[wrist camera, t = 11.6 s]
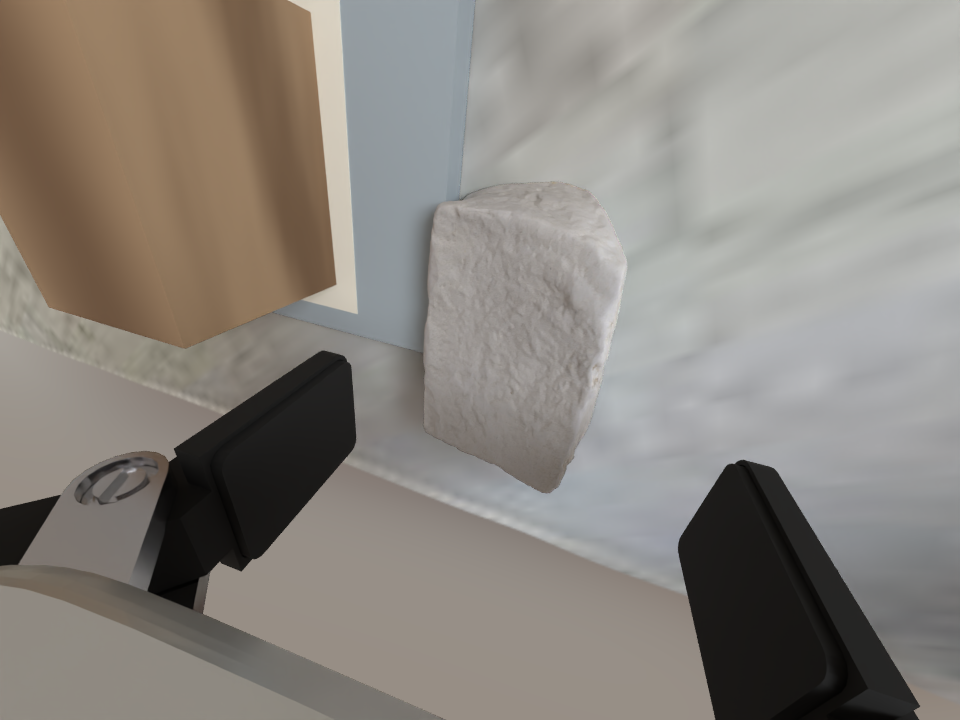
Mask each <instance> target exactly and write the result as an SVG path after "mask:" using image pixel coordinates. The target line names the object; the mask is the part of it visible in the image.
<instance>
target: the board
mask: <svg viewBox="0 0 960 720" xmlns="http://www.w3.org/2000/svg"><path fill="white" fill-rule="evenodd" d="M288 1H290V2H292V3H294V4H296V5H298V6H300V7H302V8H304V9H305V10H307V11H309V12H311V21H312V31H313V42H314V53H315V63H316V74H317V84H318V95H319V105H320V116H321V126H322V137H323V147H324V158H325V168H326V179H327V190H328V200H329V211H330V221H331V232H332V242H333V253H334V263H335V274H336V284H337V285H334V286H332V287H330V288H327V289H325V290H323V291H320V292H318V293H316V294H313V295H311V296H308V297H306V298H304V299H301V300H299V301H297V302H294V303H292V304H290V305H287V306H285V307H282V308H280V309H278V310H275V311H273V312H272V313H276V314H280V315H284V316H287V317H291V318H295V319H298V320H302V321H306V322H310V323H313V324H317V325H321V326H325V327H328V328H332V329H336V330H339V331H343V332H347V333H351V334H354V335H358V336H362V337H365V338H369V339H373V340H377V341H380V342H384V343H388V344H392V345H395V346H399V347H403V348H406V349H410V350H414V351H418V352H421V353H423V351H424V330H425V324H426V320H427V316H428V305H429V298H428V290H427V287H428V286H427V280H428V265H429V255H430V241H431V232H432V227H433V218H434V213H435V211H436V208H437V206H438V205H439V204H440V203H442V202H447V201H459V194H460V181H461V169H462V156H463V144H464V132H465V119H466V107H467V95H468V82H469V70H470V58H471V45H472V33H473V20H474V8H475V0H288Z"/></svg>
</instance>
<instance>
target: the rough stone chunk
mask: <svg viewBox="0 0 960 720" xmlns="http://www.w3.org/2000/svg"><path fill="white" fill-rule="evenodd" d="M626 273H627V260H626V257H625V255H624V253H623V248H622V246H621V243H620V241H619V239H618V237H617V235H616V233H615V229H614V226H613V225H612V223H611V221H610V219H609V217H608V215H607V213H606V211H605V209H604V208H603V207H602V206H601V205H600V203H599V201H598V200H597V199H596V198H595V196H594V195H593V194H592V193H591V192H590V191H588V190H585V189H581V188H579V187H576V186H573V185H571V184H567V183H563V182H540V183H539V182H537V183H536V182H535V183H519V184H518V183H511V184H504V185H497V186H493V187H489V188H484V189H481V190H479V191H476V192H473V193H470V194H469V195H467V196H466V197H465V198H464V199H463V200H459V201H447V202H442V203H440V204H439V205H438V206H437V208H436V211H435V213H434V218H433V227H432V232H431V241H430V255H429V265H428V280H427V286H428V287H427V290H428V298H429V305H428V316H427V320H426V324H425V330H424V351H423V364H424V368H425V375H424V384H425V391H424V422H423V427H424V430H425V432H426V433H428V434H430V435H432V436H433V437H435V438H438V439H440V440H442V441H443V442H445V443H447V444H449V445H452V446H454V447H456V448H457V449H459V450H461V451H462V452H465V453H467V454H471V455H474V456H476V457H478V458H480V459H483V460H484V461H486V462H489V463H492V464H495V465H497V466H499V467H500V468H502V469H503V470H504V471H505V472H507V473H508V474H510V475H512V476H514V477H515V478H516V479H518V480H520V481H522V482H523V483H525V484H526V485H529V486H531V487H532V488H534V489H536V490H538V491H540V492H542V493H550V492H552V491H553V490H554V489H556V488H557V487H558V486H559V485H560V483H561V480H562V478H563V476H564V474H565V471H566V466H567V465H568V464H569V463H570V462H571V461H572V460H573V458H574V452H575V449H576V447H577V445H578V444H579V442H580V440H581V439H582V438H583V436H584V435H585V432H586V431H587V428H588V426H589V424H590V421H591V419H592V415H593V411H594V408H595V404H596V400H597V397H598V394H599V390H600V387H601V384H602V379H603V371H604V366H605V363H606V362H607V359H608V357H609V352H610V348H611V341H612V336H613V333H614V331H615V328H616V322H617V318H618V315H619V310H620V305H621V297H622V294H623V288H624V282H625V278H626Z"/></svg>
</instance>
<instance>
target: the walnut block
mask: <svg viewBox="0 0 960 720" xmlns="http://www.w3.org/2000/svg"><path fill="white" fill-rule="evenodd" d="M0 215H1V217H2V219H3V221H4V223H5V225H6V227H7V229H8V230H9V232H10V234H11V236H12V238H13V240H14V242H15V244H16V246H17V248H18V250H19V251H20V253H21V255H22V257H23V259H24V261H25V263H26V265H27V267H28V269H29V270H30V272H31V274H32V276H33V278H34V280H35V282H36V284H37V286H38V288H39V289H40V291H41V293H42V295H43V297H44V299H45V301H46V303H47V305H48V307H50V308H53V309H56V310H60V311H63V312H66V313H69V314H73V315H76V316H79V317H83V318H86V319H89V320H92V321H96V322H99V323H102V324H106V325H109V326H112V327H116V328H119V329H122V330H125V331H129V332H132V333H135V334H139V335H142V336H145V337H148V338H152V339H155V340H158V341H162V342H165V343H168V344H172V345H175V346H178V347H181V348H188V347H190V346H192V345H195V344H197V343H200V342H202V341H204V340H207V339H209V338H211V337H214V336H216V335H219V334H221V333H223V332H226V331H228V330H230V329H233V328H235V327H237V326H240V325H242V324H245V323H247V322H249V321H252V320H254V319H256V318H259V317H261V316H263V315H266V314H268V313H271V312H273V311H275V310H278V309H280V308H282V307H285V306H287V305H290V304H292V303H294V302H297V301H299V300H301V299H304V298H306V297H308V296H311V295H313V294H316V293H318V292H320V291H323V290H325V289H327V288H330V287H332V286H334V285H337V284H336V274H335V263H334V253H333V242H332V232H331V221H330V211H329V200H328V190H327V179H326V168H325V158H324V147H323V137H322V126H321V116H320V105H319V95H318V84H317V74H316V63H315V53H314V42H313V31H312V21H311V12H309V11H307V10H305V9H304V8H302V7H300V6H298V5H296V4H294V3H292V2H290V1H288V0H0Z"/></svg>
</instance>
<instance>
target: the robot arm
mask: <svg viewBox="0 0 960 720" xmlns="http://www.w3.org/2000/svg"><path fill="white" fill-rule="evenodd" d="M355 443H356V427H355V413H354V399H353V385H352V370H351V365H350V363H348V362H347V360H346V358H345V357H344V356H343V355H339V354H335V353H331V352H327V351H321V352H318V353H317V354H315V355H314V356H312V357H311V358H309V359H308V360H306V361H305V362H303V363H302V364H300V365H299V366H297V367H296V368H294V369H293V370H291V371H290V372H288V373H287V374H285V375H284V376H282V377H281V378H279V379H278V380H276V381H275V382H273V383H272V384H270V385H269V386H267V387H266V388H264V389H263V390H261V391H260V392H258V393H257V394H255V395H254V396H252V397H251V398H249V399H248V400H246V401H245V402H243V403H242V404H240V405H239V406H237V407H236V408H234V409H233V410H231V411H230V412H228V413H227V414H225V415H224V416H222V417H221V418H219V419H218V420H216V421H215V422H214V423H212V424H210V425H209V426H207V427H206V428H204V429H203V430H201V431H200V432H198V433H197V434H195V435H194V436H192V437H191V438H189V439H188V440H186V441H185V442H183V443H182V444H180V445H179V446H177V447H176V448H174V450H175V453H176V455H177V457H176V458H174V459H173V460H171V461H170V462H168V460H167V459H166V457H165V456H163V455H161V454H159V453H156V452H149V451H141V452H131V453H127V454H123V455H119V456H115V457H113V458H110V459H107V460H105V461H102V462H100V463H98V464H96V465H94V466H93V467H91V468H89V469H87V470H85V471H84V472H83V473H81V474H80V475H79V476H77V477H76V478H75V479H73V480H72V482H71V483H70V484H69V485H68V486H67V487H66V489H65V490H64V491H63V493H62V495H58V496H54V497H49V498H45V499H41V500H37V501H32V502H28V503H24V504H20V505H15V506H11V507H7V508H3V509H0V720H445V719H443V718H441V717H438V716H436V715H434V714H431V713H429V712H427V711H425V710H422V709H420V708H418V707H416V706H413V705H411V704H409V703H406V702H404V701H402V700H400V699H397V698H395V697H393V696H390V695H388V694H386V693H384V692H381V691H379V690H376V689H374V688H372V687H370V686H368V685H365V684H363V683H361V682H358V681H356V680H354V679H352V678H349V677H347V676H345V675H343V674H340V673H338V672H336V671H333V670H331V669H329V668H327V667H324V666H322V665H319V664H317V663H315V662H313V661H310V660H308V659H306V658H303V657H301V656H299V655H296V654H294V653H292V652H290V651H287V650H285V649H283V648H280V647H278V646H276V645H273V644H271V643H269V642H266V641H264V640H262V639H259V638H257V637H255V636H253V635H250V634H248V633H246V632H243V631H241V630H239V629H236V628H234V627H232V626H229V625H227V624H225V623H222V622H220V621H218V620H216V619H213V618H211V617H209V616H206V615H204V614H203V610H204V604H205V599H206V593H207V587H208V581H209V576H210V571H211V570H212V569H213V568H214V567H215V566H216V565H217V563H219V562H221V563H222V564H224V565H227V566H229V567H232V568H234V569H237V570H239V571H242V570H243V569H244V568H245V567H246V566H247V564H248V563H249V562H250V561H251V560H252V559H257V558H259V557H260V556H262V555H263V554H264V552H265V551H266V550H267V549H268V548H269V547H270V546H271V544H272V543H273V542H274V541H275V540H276V539H277V537H278V536H279V535H280V534H281V533H282V532H283V530H284V529H285V528H286V527H287V526H288V525H289V523H290V522H291V521H292V520H293V519H294V517H295V516H296V515H297V514H298V513H299V512H300V511H301V510H302V508H303V507H304V506H305V505H306V504H307V503H308V501H309V500H310V499H311V498H312V497H313V496H314V494H315V493H316V492H317V491H318V489H319V488H320V487H321V486H322V485H323V484H324V483H325V481H326V480H327V479H328V478H329V477H330V476H331V475H332V473H333V472H334V471H335V470H336V469H337V468H338V466H339V465H340V464H341V463H342V462H343V461H344V459H345V458H346V457H347V456H348V455H349V454H350V452H351V451H352V450H353V448H354V446H355ZM678 553H679V558H680V563H681V567H682V572H683V576H684V581H685V585H686V590H687V594H688V599H689V603H690V607H691V612H692V616H693V621H694V625H695V630H696V634H697V639H698V643H699V647H700V652H701V657H702V661H703V666H704V670H705V675H706V679H707V684H708V688H709V693H710V697H711V702H712V706H713V711H714V715H715V720H919V719H918V717H917V716H916V714H915V712H914V711H913V710H915V709H917V708H919V707H920V705H919V704H918V702H917V700H916V699H915V697H914V696H913V694H912V692H911V690H910V689H909V687H908V686H907V684H906V682H905V681H904V679H903V677H902V676H901V674H900V672H899V671H898V669H897V668H896V666H895V664H894V663H893V661H892V659H891V658H890V656H889V654H888V653H887V651H886V650H885V648H884V646H883V645H882V643H881V641H880V640H879V638H878V636H877V635H876V633H875V631H874V630H873V628H872V627H871V625H870V623H869V622H868V620H867V618H866V617H865V615H864V613H863V612H862V610H861V609H860V607H859V605H858V604H857V602H856V600H855V599H854V597H853V595H852V594H851V592H850V591H849V589H848V587H847V586H846V584H845V582H844V581H843V579H842V577H841V576H840V574H839V572H838V571H837V569H836V568H835V566H834V564H833V563H832V561H831V559H830V558H829V556H828V554H827V553H826V551H825V550H824V548H823V546H822V545H821V543H820V541H819V540H818V538H817V536H816V535H815V533H814V531H813V530H812V528H811V527H810V525H809V523H808V522H807V520H806V518H805V517H804V515H803V513H802V512H801V510H800V509H799V507H798V505H797V504H796V502H795V500H794V499H793V497H792V495H791V494H790V492H789V491H788V489H787V487H786V486H785V484H784V482H783V481H782V479H781V477H780V476H779V474H778V473H777V471H776V470H775V469H774V468H772V467H769V466H765V465H761V464H757V463H753V462H750V461H746V460H740V461H738V462H736V464H728V465H727V466H726V467H725V469H724V470H723V472H722V473H721V475H720V476H719V478H718V479H717V481H716V483H715V484H714V486H713V487H712V489H711V490H710V492H709V493H708V495H707V497H706V498H705V500H704V501H703V503H702V504H701V506H700V507H699V509H698V511H697V512H696V514H695V515H694V517H693V518H692V520H691V521H690V523H689V525H688V526H687V528H686V529H685V531H684V532H683V534H682V535H681V537H680V540H679V544H678Z"/></svg>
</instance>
